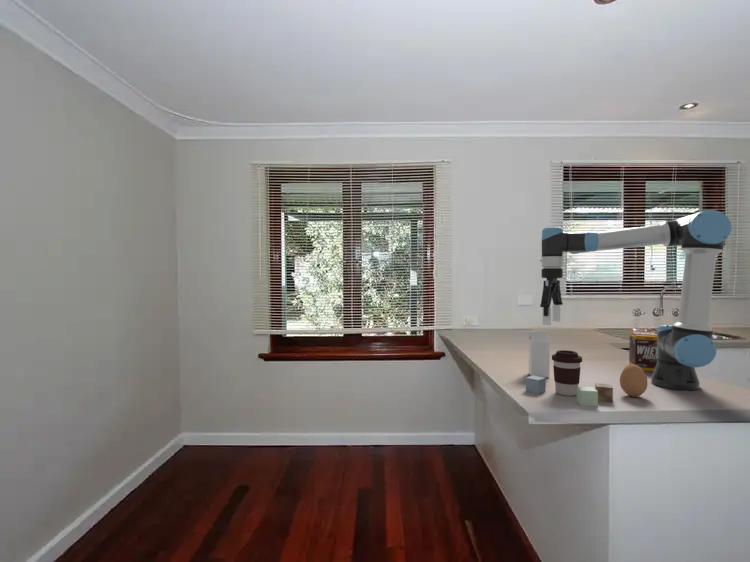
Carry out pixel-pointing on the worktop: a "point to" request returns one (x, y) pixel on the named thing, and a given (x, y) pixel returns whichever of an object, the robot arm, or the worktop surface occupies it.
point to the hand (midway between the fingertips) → (551, 323)
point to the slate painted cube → (535, 384)
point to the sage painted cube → (587, 396)
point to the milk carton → (539, 353)
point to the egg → (633, 380)
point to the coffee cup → (566, 372)
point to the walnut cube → (604, 392)
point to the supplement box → (643, 350)
